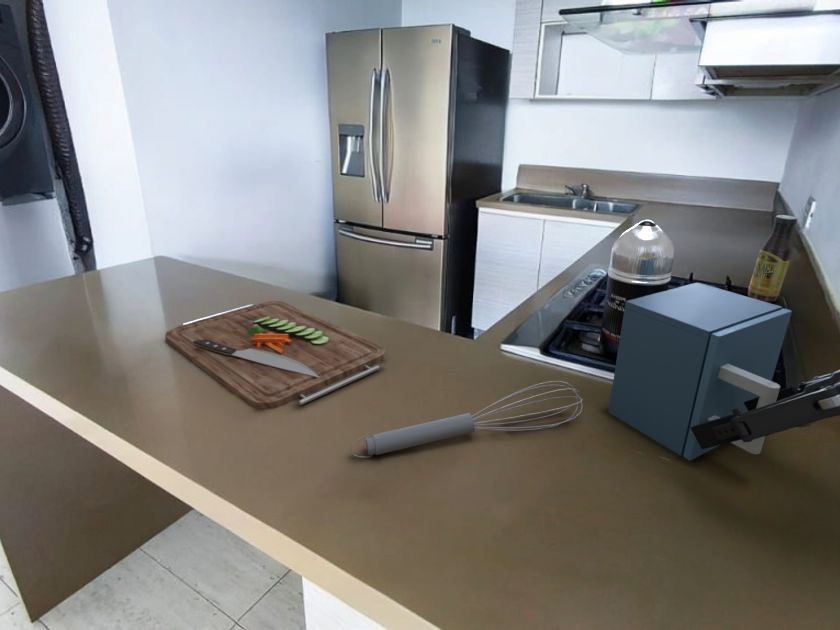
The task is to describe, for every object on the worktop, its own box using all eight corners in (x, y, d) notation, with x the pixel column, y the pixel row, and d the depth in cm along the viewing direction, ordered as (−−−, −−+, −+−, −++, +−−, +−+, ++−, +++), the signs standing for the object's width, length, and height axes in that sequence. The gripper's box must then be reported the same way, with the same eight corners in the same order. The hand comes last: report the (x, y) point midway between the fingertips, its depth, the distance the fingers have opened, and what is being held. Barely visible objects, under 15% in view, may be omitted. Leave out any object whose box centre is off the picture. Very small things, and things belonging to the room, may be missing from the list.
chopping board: (402, 361, 92) (402, 345, 91) (271, 421, 74) (268, 403, 73) (272, 301, 121) (271, 289, 120) (156, 335, 103) (153, 321, 102)
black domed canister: (635, 371, 88) (660, 229, 78) (585, 350, 95) (603, 219, 86) (666, 355, 93) (693, 221, 84) (617, 337, 101) (637, 212, 91)
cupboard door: (807, 448, 67) (849, 327, 61) (738, 490, 60) (777, 357, 53) (751, 421, 73) (784, 308, 67) (682, 456, 66) (711, 333, 59)
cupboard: (749, 421, 73) (782, 306, 67) (680, 456, 66) (709, 331, 59) (675, 385, 83) (697, 282, 76) (607, 412, 76) (625, 301, 69)
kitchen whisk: (347, 444, 69) (345, 405, 66) (565, 407, 78) (570, 371, 75) (354, 473, 63) (352, 431, 61) (588, 429, 72) (594, 391, 70)
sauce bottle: (740, 295, 123) (760, 214, 116) (762, 293, 124) (784, 212, 117) (761, 304, 117) (784, 219, 110) (785, 302, 118) (809, 218, 111)
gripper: (914, 443, 38) (682, 485, 56) (1014, 369, 48) (791, 425, 67) (852, 352, 40) (649, 421, 58) (961, 300, 50) (759, 373, 69)
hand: (725, 423), depth 62 cm, fingers open, 10 cm apart
